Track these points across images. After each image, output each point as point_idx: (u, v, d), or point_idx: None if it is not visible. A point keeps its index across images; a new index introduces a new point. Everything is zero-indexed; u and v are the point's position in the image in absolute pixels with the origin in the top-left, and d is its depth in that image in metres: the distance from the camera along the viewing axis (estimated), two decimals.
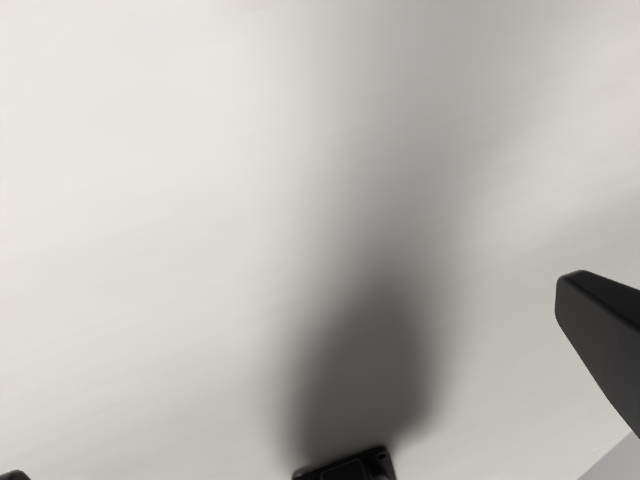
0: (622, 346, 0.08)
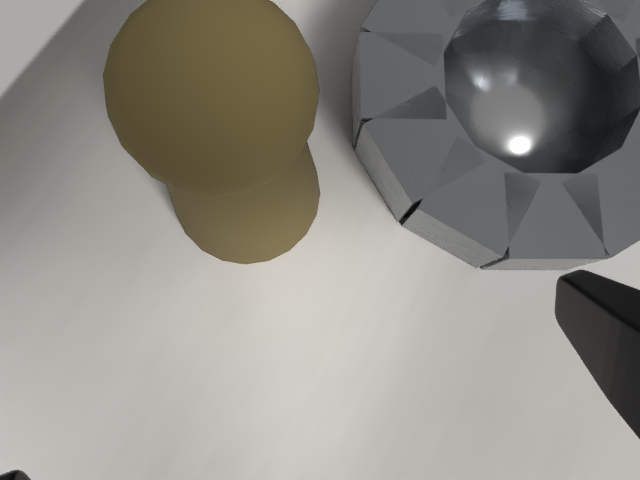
0: (622, 346, 0.08)
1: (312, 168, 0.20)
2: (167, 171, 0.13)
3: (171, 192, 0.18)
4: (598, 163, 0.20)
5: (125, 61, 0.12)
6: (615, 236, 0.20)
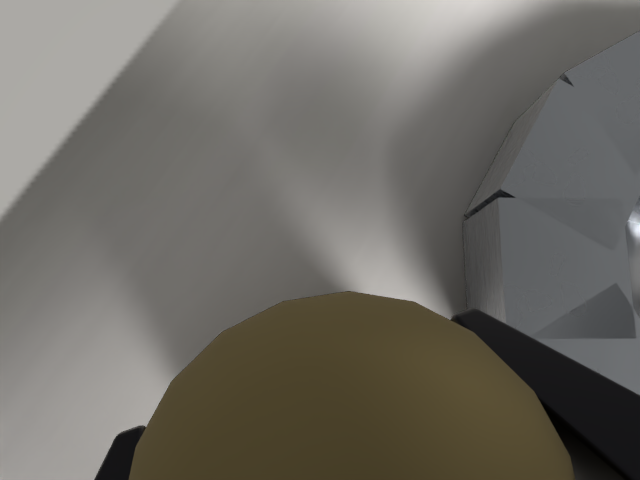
0: None
1: None
2: None
3: None
4: None
5: None
6: None
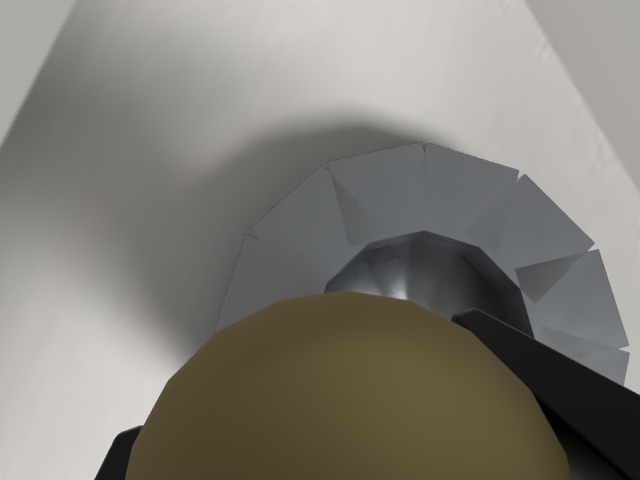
0: None
1: None
2: None
3: None
4: None
5: None
6: None
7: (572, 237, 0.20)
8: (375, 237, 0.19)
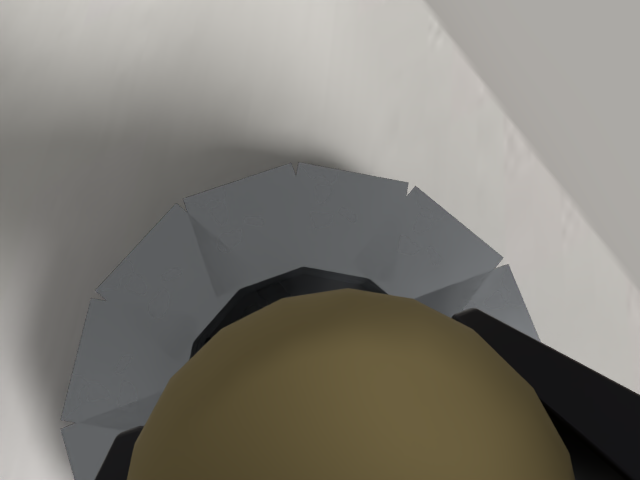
0: None
1: None
2: None
3: None
4: None
5: None
6: None
7: (476, 254, 0.17)
8: (246, 282, 0.16)
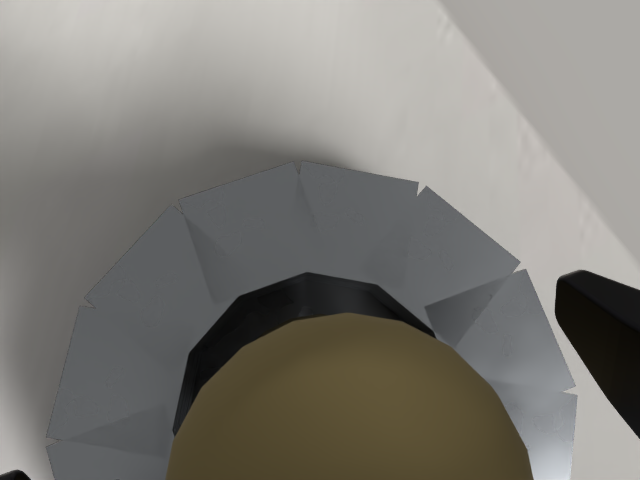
0: (622, 346, 0.08)
1: None
2: None
3: None
4: None
5: None
6: None
7: (492, 258, 0.16)
8: (245, 288, 0.15)
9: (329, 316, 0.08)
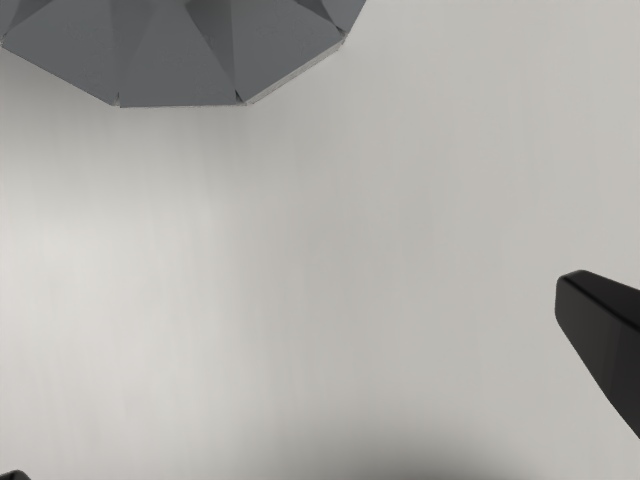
0: (622, 346, 0.08)
1: None
2: None
3: None
4: None
5: None
6: (341, 4, 0.16)
7: None
8: None
9: None
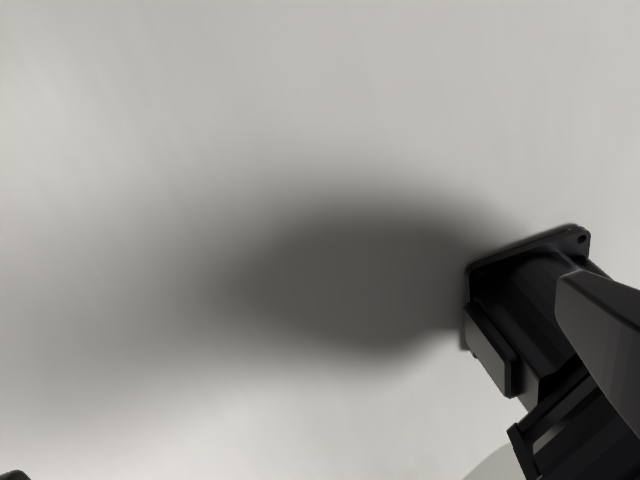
0: (622, 346, 0.08)
1: None
2: None
3: None
4: None
5: None
6: None
7: None
8: None
9: None
